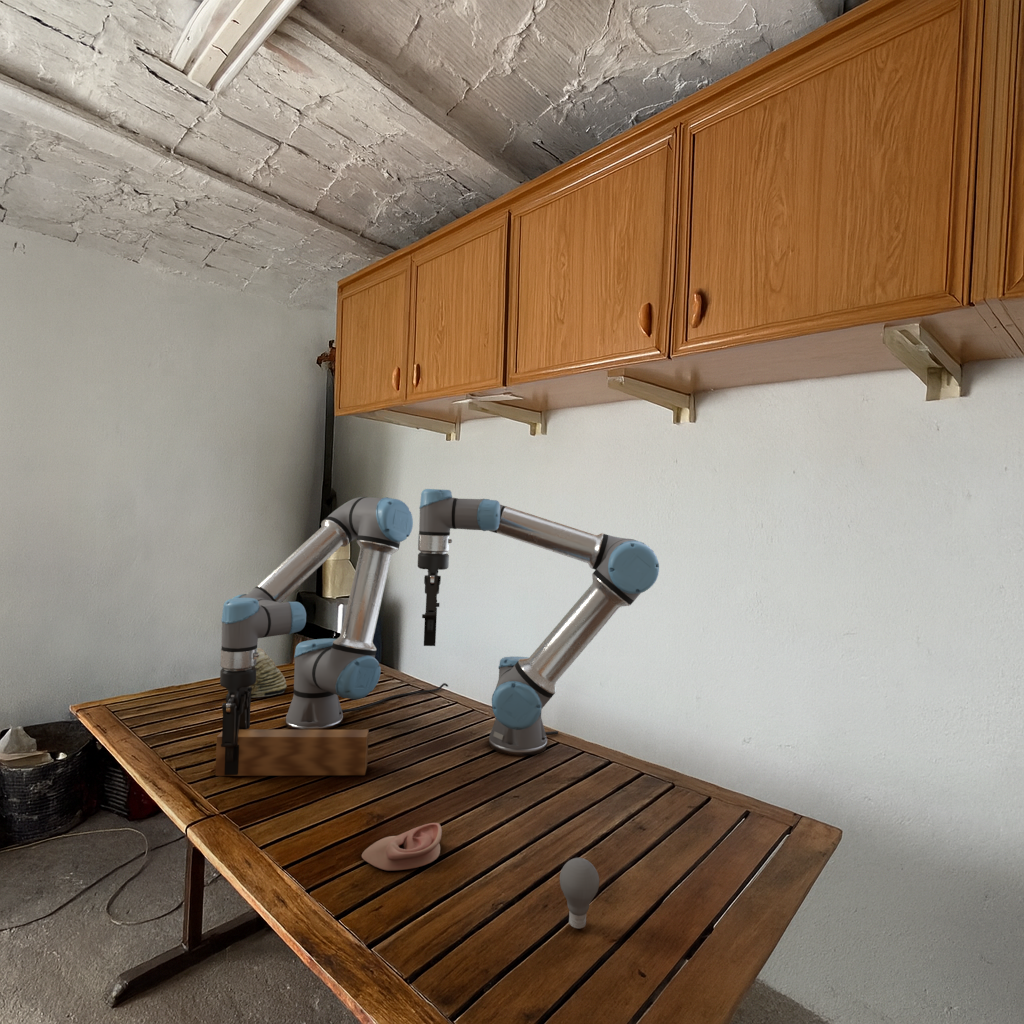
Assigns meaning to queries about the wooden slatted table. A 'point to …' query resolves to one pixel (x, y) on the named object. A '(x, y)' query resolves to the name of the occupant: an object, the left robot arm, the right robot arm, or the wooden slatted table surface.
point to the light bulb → (579, 888)
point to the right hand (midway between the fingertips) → (430, 639)
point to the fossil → (267, 677)
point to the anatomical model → (406, 849)
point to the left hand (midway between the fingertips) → (235, 768)
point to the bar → (297, 752)
